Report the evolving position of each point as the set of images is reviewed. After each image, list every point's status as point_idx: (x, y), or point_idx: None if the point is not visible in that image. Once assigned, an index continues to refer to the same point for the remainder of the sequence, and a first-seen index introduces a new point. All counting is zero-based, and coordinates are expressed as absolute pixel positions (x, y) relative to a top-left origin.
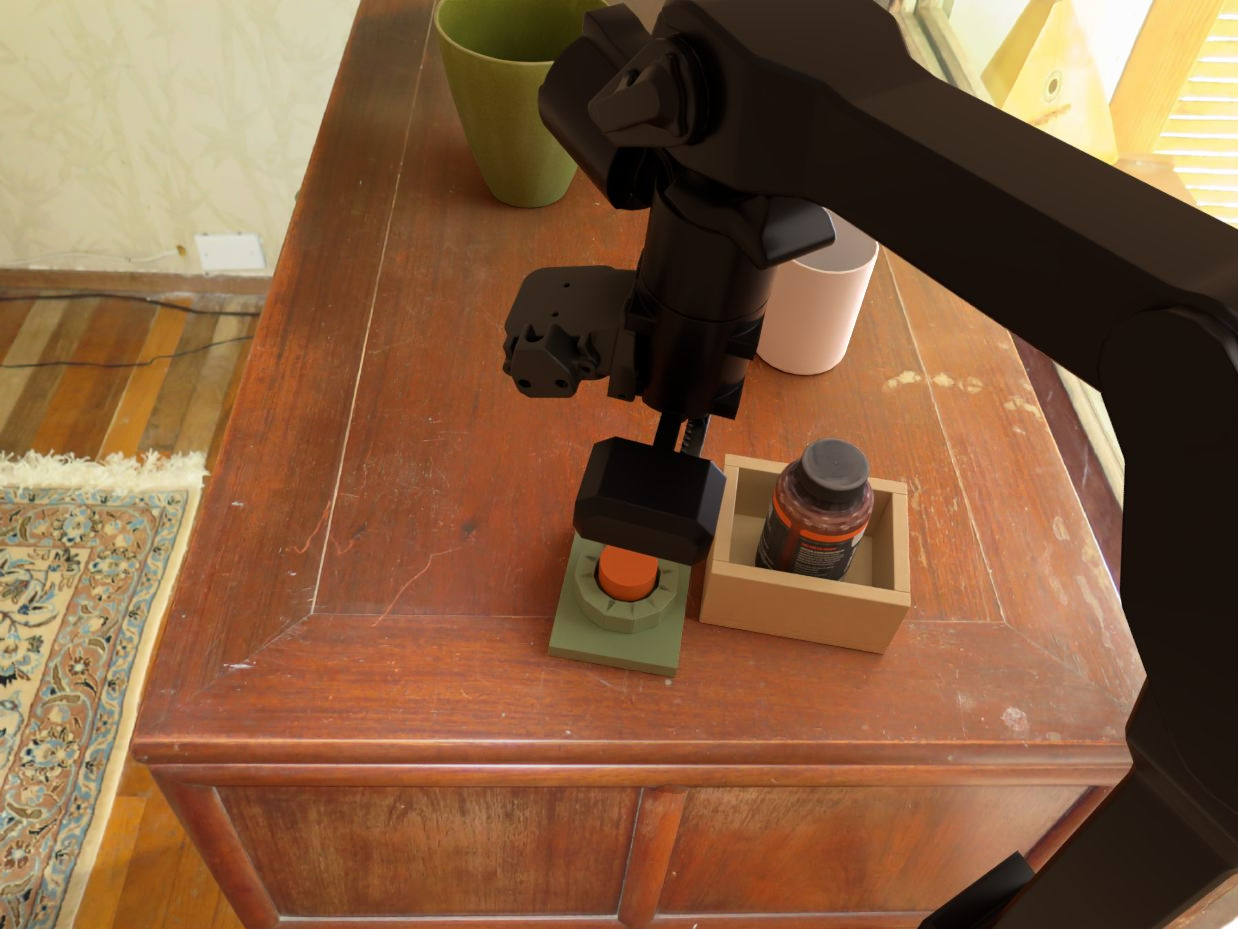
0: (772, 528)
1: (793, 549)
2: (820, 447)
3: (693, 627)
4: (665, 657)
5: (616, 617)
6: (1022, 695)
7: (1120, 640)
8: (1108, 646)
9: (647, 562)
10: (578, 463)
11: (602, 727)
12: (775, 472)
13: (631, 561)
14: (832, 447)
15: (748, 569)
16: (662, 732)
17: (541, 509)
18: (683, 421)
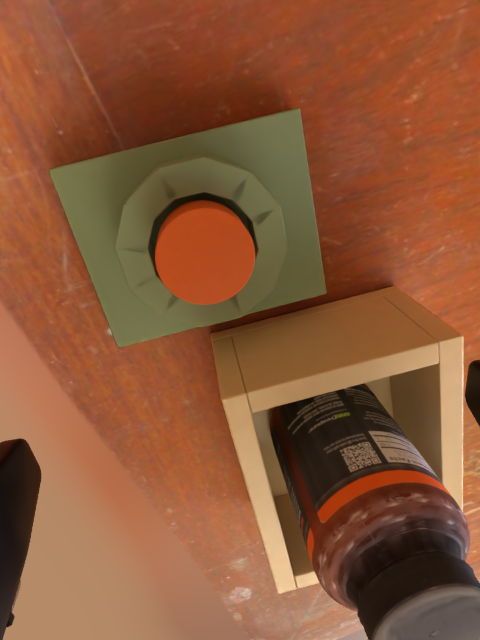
0: (325, 460)
1: (299, 493)
2: (465, 606)
3: (200, 329)
4: (124, 330)
5: (120, 265)
6: (266, 593)
7: (350, 630)
8: (341, 625)
9: (217, 287)
10: (422, 48)
11: (3, 284)
12: (441, 411)
13: (208, 262)
14: (470, 617)
15: (250, 440)
16: (44, 350)
17: (306, 24)
18: (470, 407)
